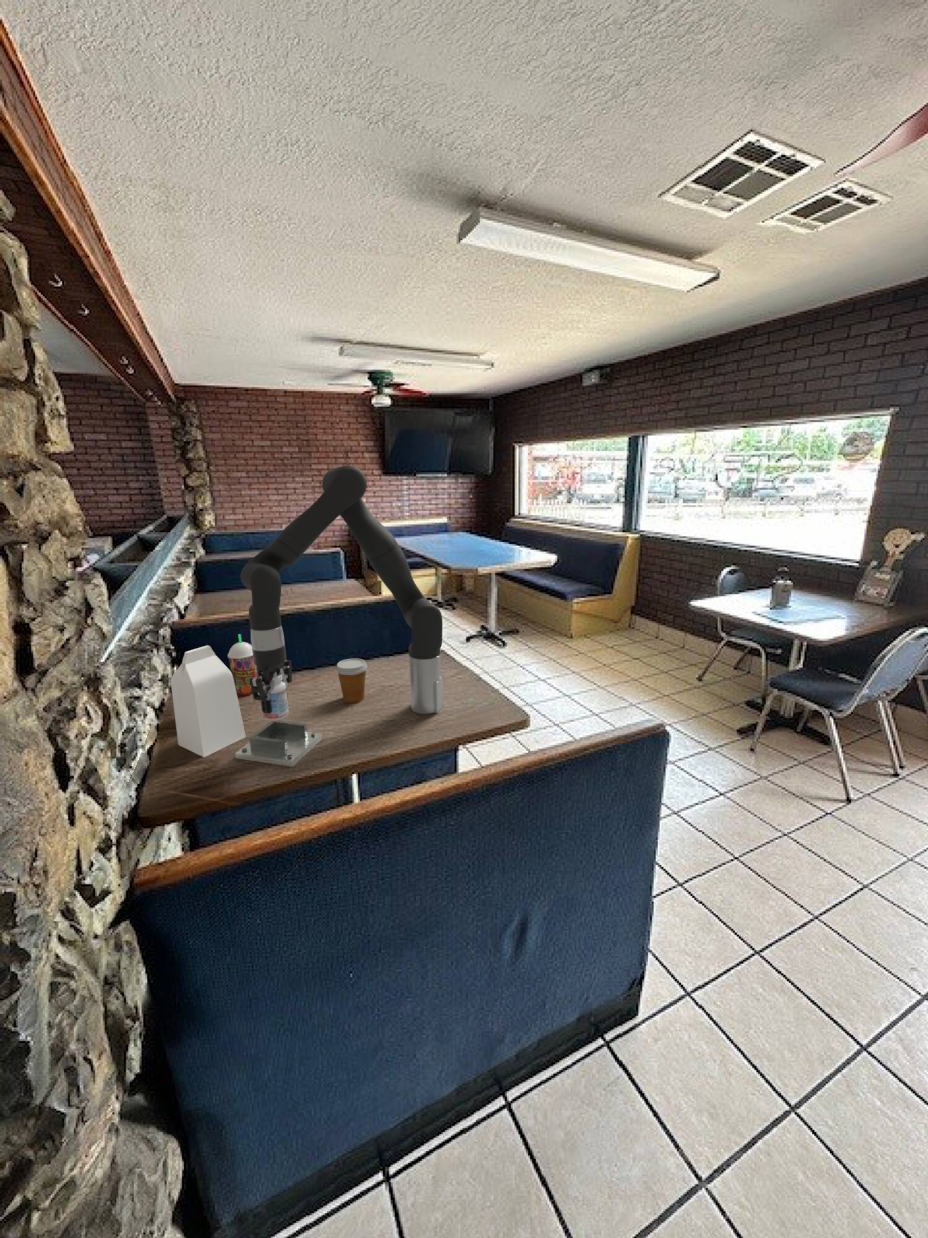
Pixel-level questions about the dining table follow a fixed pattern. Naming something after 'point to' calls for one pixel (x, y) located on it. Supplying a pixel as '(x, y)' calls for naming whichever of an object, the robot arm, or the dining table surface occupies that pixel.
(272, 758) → the mounting bracket
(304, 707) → the dining table surface
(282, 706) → the pill bottle
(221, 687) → the milk
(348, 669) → the disposable coffee cup
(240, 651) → the smoothie
